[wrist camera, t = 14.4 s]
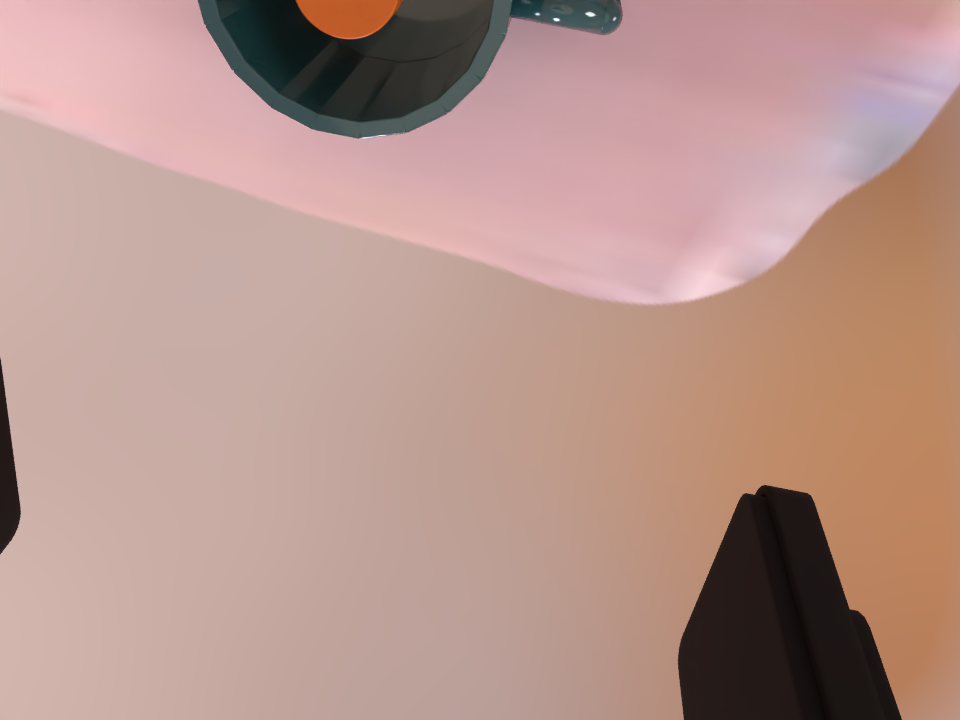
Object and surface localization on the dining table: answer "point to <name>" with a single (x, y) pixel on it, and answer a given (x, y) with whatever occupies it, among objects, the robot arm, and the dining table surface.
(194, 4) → the dining table surface
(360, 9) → the glue stick
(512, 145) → the dining table surface
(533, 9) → the mug
